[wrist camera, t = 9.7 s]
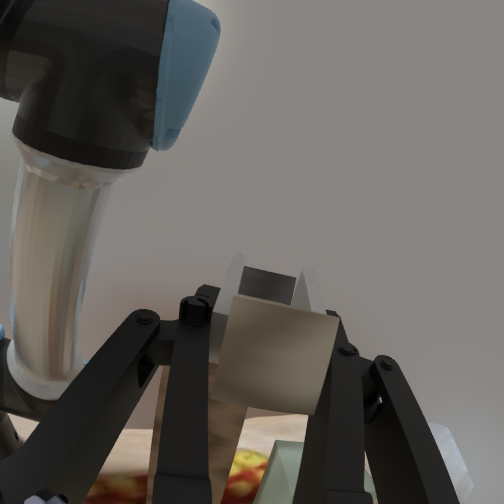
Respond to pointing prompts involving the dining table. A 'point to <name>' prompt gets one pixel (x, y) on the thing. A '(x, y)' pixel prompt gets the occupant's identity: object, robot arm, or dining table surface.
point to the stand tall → (219, 436)
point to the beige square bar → (273, 348)
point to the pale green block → (288, 475)
